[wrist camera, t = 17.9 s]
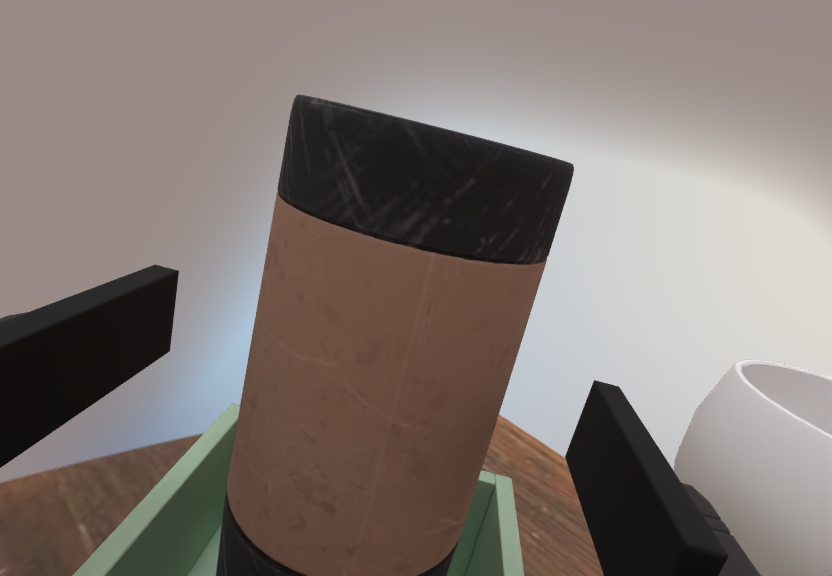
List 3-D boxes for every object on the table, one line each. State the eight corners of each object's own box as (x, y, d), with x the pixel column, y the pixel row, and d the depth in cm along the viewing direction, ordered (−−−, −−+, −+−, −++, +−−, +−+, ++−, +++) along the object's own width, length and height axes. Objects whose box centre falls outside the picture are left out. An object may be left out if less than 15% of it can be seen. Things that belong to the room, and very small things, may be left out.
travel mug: (219, 864, 14) (375, 107, 8) (177, 619, 20) (252, 84, 14) (442, 736, 18) (644, 182, 13) (353, 567, 24) (463, 140, 19)
